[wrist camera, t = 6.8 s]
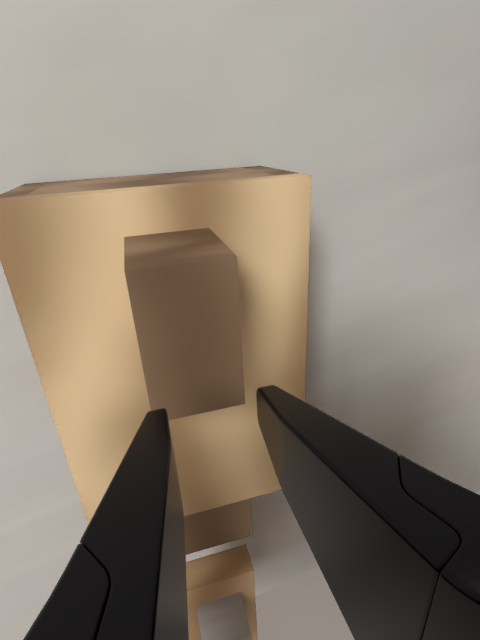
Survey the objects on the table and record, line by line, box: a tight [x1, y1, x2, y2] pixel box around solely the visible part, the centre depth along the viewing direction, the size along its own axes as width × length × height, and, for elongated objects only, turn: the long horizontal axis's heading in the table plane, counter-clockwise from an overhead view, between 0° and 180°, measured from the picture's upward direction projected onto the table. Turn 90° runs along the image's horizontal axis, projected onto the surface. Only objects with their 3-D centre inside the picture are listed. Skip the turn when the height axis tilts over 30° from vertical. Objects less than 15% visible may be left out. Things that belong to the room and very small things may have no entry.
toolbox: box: [0, 166, 300, 555], centre depth 20 cm, size 11×19×6 cm, turn 3°
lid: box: [0, 173, 311, 525], centre depth 15 cm, size 11×16×5 cm
